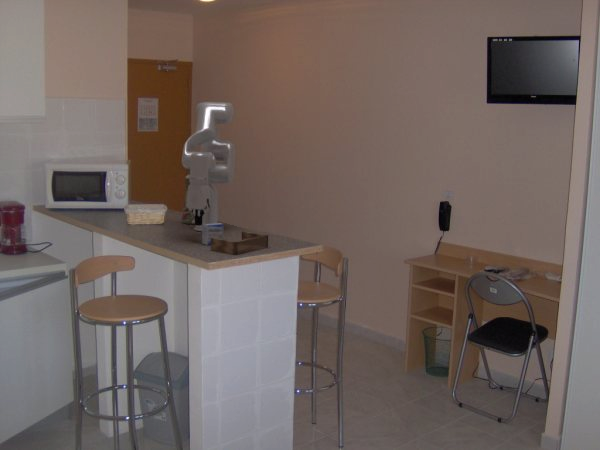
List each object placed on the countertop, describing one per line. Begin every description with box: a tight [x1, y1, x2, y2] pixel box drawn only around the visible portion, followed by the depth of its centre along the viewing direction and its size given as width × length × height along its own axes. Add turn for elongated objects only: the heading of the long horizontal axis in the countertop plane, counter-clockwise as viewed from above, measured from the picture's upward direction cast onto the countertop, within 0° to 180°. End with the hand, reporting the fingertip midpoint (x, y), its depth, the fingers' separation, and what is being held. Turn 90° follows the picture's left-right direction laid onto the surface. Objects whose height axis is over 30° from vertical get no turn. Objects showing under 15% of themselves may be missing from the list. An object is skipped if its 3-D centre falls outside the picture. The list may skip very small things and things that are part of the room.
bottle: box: [180, 169, 195, 225], centre depth 349 cm, size 9×9×28 cm
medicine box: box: [201, 222, 224, 246], centre depth 302 cm, size 8×4×9 cm, turn 126°
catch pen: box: [209, 231, 269, 256], centre depth 294 cm, size 13×21×5 cm, turn 146°
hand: (198, 225), depth 305 cm, fingers closed
